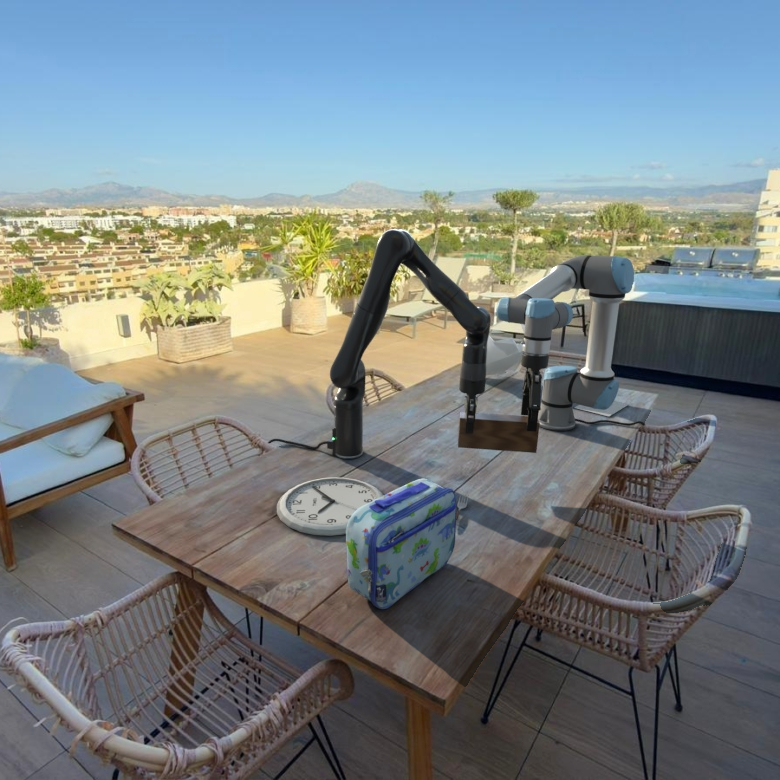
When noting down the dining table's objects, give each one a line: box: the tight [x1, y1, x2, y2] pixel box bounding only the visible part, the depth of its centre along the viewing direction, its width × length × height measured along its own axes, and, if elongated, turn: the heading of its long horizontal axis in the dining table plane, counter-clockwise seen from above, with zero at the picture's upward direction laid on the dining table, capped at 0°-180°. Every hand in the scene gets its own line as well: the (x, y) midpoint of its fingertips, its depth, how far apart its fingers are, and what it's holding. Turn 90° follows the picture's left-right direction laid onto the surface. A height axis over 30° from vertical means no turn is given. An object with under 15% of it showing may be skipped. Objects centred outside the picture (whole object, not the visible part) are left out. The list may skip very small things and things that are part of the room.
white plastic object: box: [486, 324, 548, 377], centre depth 259 cm, size 37×45×31 cm
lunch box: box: [345, 477, 457, 610], centre depth 110 cm, size 26×11×21 cm, turn 134°
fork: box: [456, 494, 470, 521], centre depth 139 cm, size 3×16×2 cm, turn 160°
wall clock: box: [276, 476, 385, 537], centre depth 142 cm, size 30×2×30 cm
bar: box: [457, 411, 540, 454], centre depth 158 cm, size 23×6×10 cm, turn 83°
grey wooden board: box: [573, 401, 629, 418], centre depth 226 cm, size 21×1×15 cm
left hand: (468, 429), depth 159 cm, fingers closed on bar, 5 cm apart
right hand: (528, 422), depth 156 cm, fingers open, 13 cm apart
